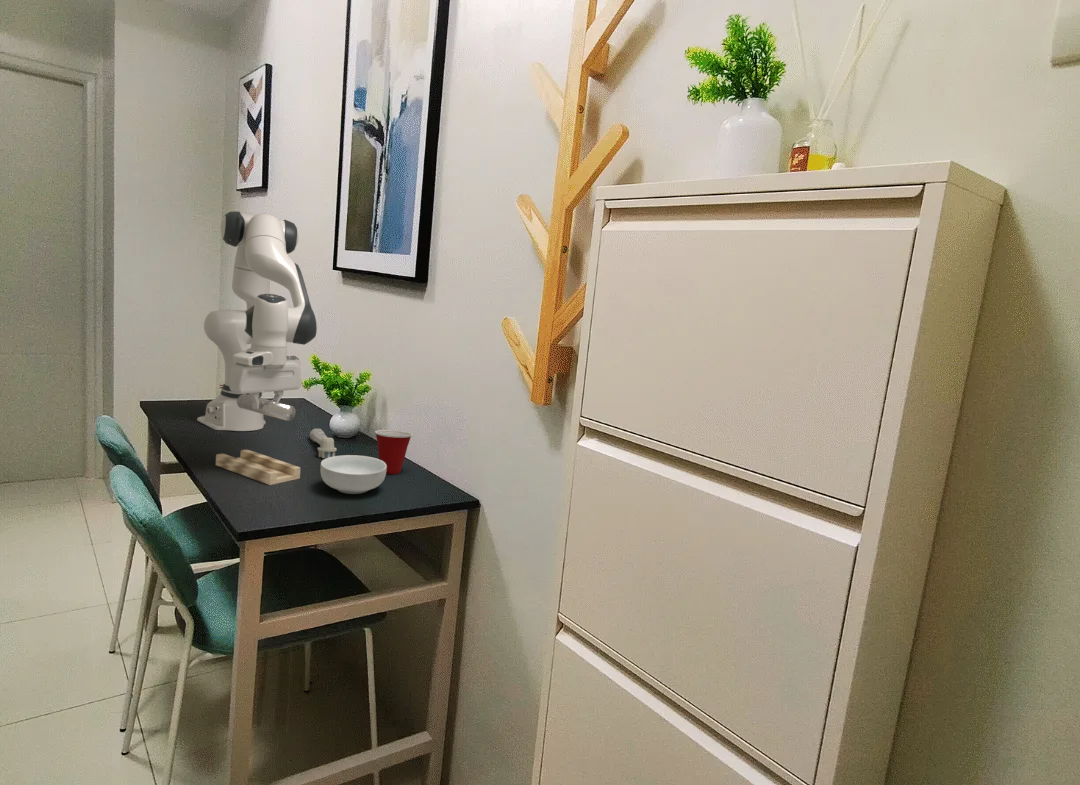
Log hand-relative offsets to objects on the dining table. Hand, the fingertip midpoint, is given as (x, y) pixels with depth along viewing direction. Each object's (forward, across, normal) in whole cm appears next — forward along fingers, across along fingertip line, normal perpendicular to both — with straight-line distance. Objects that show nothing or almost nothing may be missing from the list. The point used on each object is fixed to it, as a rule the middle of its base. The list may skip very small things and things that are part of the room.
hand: (265, 407), depth 177 cm
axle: (+2, 0, 0) cm, 2 cm away
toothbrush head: (+18, -29, -9) cm, 35 cm away
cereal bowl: (+18, -8, +26) cm, 32 cm away
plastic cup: (+18, -28, +21) cm, 39 cm away
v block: (+18, +1, 0) cm, 18 cm away
